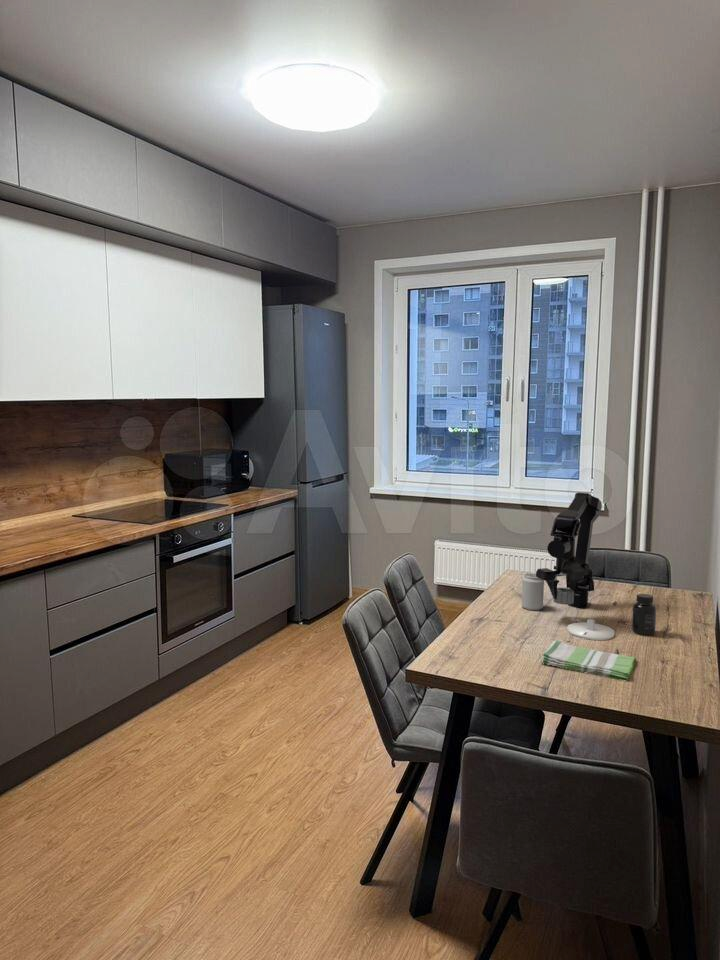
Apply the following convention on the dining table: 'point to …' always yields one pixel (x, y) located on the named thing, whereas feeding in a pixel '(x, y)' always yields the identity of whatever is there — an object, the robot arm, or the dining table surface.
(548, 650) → the dish towel
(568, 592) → the grey segmented ring
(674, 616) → the dining table surface
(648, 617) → the supplement bottle
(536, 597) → the can
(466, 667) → the dining table surface
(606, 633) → the shaft hub
